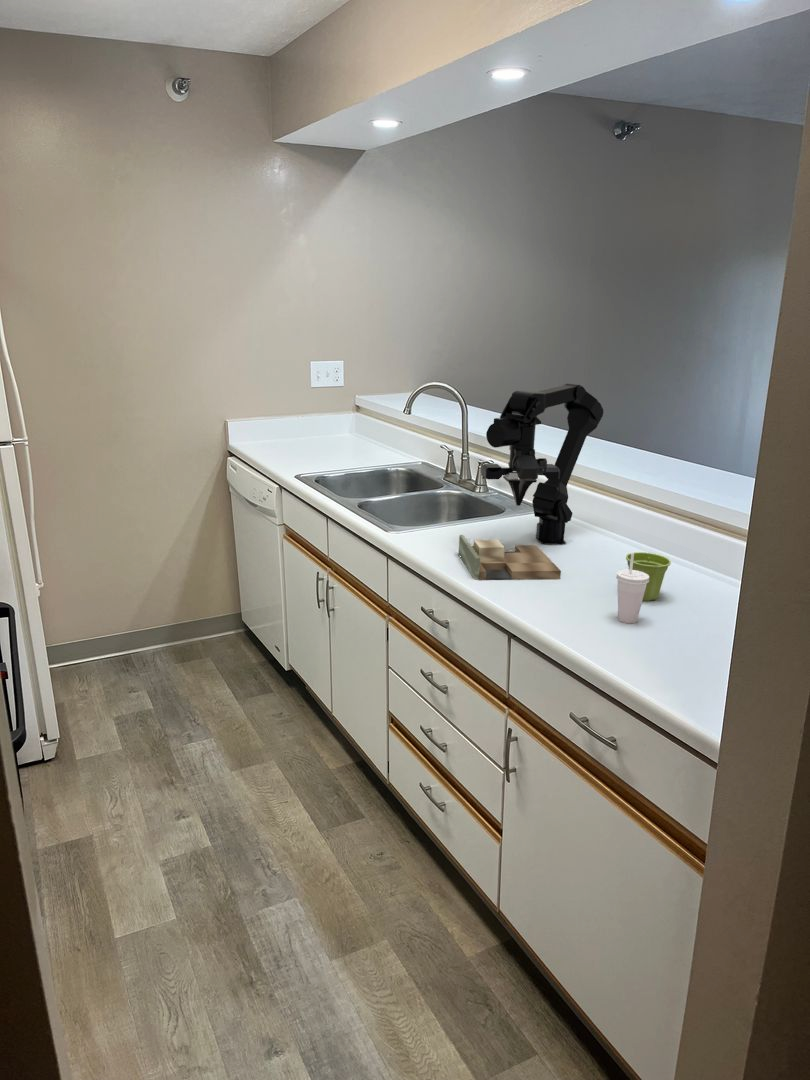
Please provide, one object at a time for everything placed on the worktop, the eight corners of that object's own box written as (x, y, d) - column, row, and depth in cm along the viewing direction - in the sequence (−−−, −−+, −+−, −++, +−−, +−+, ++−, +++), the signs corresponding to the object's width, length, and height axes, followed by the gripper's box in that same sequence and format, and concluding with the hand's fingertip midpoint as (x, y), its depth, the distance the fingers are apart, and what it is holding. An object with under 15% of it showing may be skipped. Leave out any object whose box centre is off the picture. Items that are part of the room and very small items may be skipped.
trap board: (535, 552, 205) (537, 533, 204) (560, 579, 186) (562, 558, 185) (458, 553, 202) (459, 534, 201) (475, 580, 183) (476, 559, 182)
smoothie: (606, 613, 166) (614, 548, 162) (637, 613, 166) (645, 548, 162) (617, 626, 160) (625, 558, 156) (648, 626, 160) (657, 558, 156)
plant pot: (666, 592, 179) (671, 555, 177) (665, 606, 171) (670, 568, 168) (623, 586, 182) (627, 550, 180) (619, 600, 174) (624, 562, 171)
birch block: (497, 553, 196) (498, 540, 195) (503, 561, 191) (504, 547, 190) (473, 554, 195) (474, 540, 194) (478, 561, 190) (479, 547, 189)
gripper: (493, 449, 189) (489, 513, 194) (569, 449, 192) (564, 513, 196) (482, 441, 200) (478, 502, 204) (555, 441, 202) (550, 502, 207)
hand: (518, 505), depth 203 cm, fingers closed
